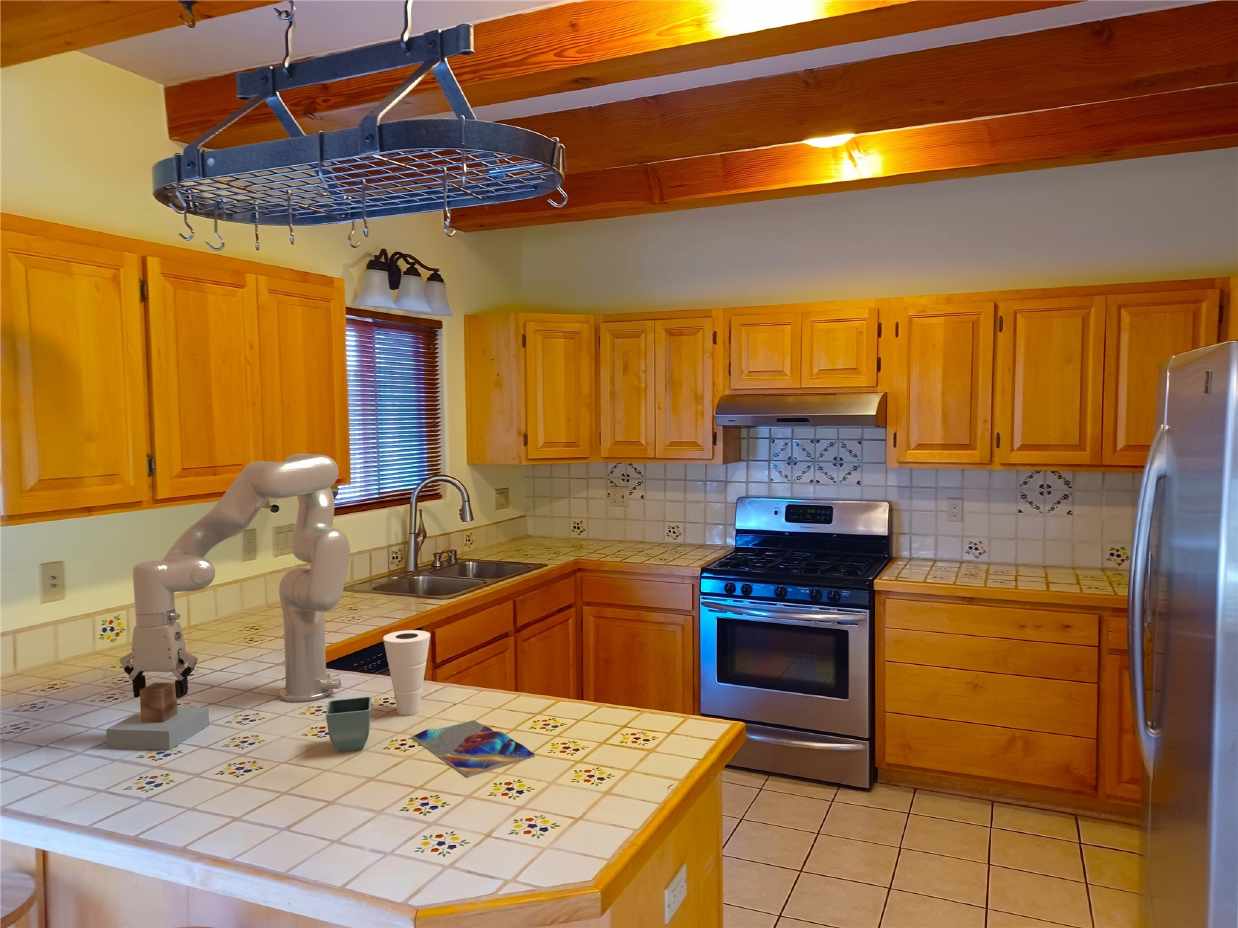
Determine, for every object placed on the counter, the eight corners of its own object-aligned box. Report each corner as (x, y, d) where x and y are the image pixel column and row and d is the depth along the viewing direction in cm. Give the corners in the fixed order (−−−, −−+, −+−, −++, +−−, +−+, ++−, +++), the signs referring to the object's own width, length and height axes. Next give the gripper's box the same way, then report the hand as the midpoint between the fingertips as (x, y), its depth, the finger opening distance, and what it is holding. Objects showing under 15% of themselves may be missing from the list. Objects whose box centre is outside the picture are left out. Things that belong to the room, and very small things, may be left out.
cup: (441, 709, 197) (439, 634, 196) (406, 723, 188) (404, 644, 187) (410, 700, 203) (408, 627, 202) (375, 714, 194) (373, 637, 193)
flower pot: (326, 757, 170) (325, 714, 169) (329, 741, 178) (328, 699, 178) (371, 752, 172) (370, 709, 172) (372, 736, 181) (371, 695, 180)
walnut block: (177, 714, 184) (176, 682, 183) (162, 722, 179) (161, 690, 178) (156, 713, 184) (154, 682, 184) (141, 721, 179) (139, 689, 179)
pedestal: (209, 725, 188) (208, 707, 188) (169, 749, 174) (168, 731, 174) (150, 723, 189) (150, 705, 189) (107, 747, 175) (106, 729, 175)
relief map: (411, 740, 180) (410, 731, 180) (474, 724, 189) (473, 715, 189) (467, 780, 160) (467, 770, 160) (534, 759, 170) (534, 750, 169)
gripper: (204, 614, 183) (208, 690, 184) (130, 613, 185) (135, 689, 186) (182, 623, 176) (187, 702, 177) (106, 622, 177) (111, 701, 179)
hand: (161, 695), depth 182 cm, fingers open, 9 cm apart
